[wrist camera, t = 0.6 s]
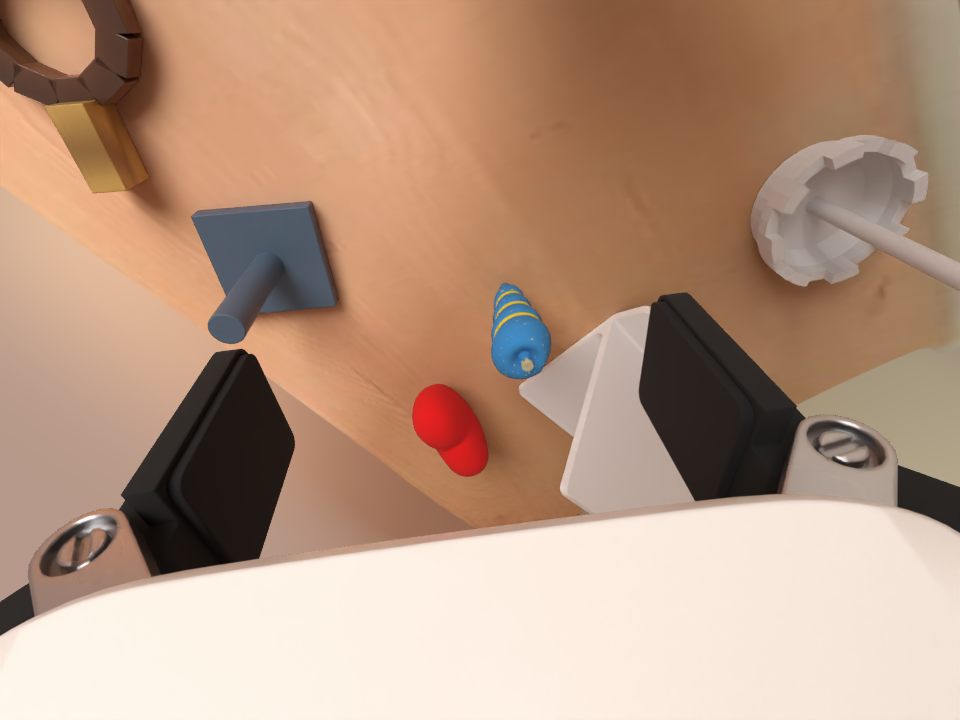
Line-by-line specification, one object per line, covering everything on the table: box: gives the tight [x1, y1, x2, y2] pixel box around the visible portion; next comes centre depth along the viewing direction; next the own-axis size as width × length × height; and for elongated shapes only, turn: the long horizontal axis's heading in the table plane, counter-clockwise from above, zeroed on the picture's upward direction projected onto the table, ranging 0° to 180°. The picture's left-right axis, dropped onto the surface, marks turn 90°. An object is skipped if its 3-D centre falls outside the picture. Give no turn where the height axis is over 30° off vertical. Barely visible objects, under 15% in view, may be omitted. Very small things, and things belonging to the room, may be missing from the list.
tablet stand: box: [519, 306, 695, 514], centre depth 52 cm, size 18×25×17 cm
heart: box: [412, 384, 488, 477], centre depth 52 cm, size 12×5×10 cm, turn 30°
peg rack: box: [191, 201, 338, 344], centre depth 39 cm, size 10×10×12 cm
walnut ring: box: [0, 0, 149, 193], centre depth 32 cm, size 16×11×4 cm, turn 3°
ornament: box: [491, 283, 551, 379], centre depth 41 cm, size 5×5×15 cm
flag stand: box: [751, 135, 960, 291], centre depth 33 cm, size 13×13×30 cm
